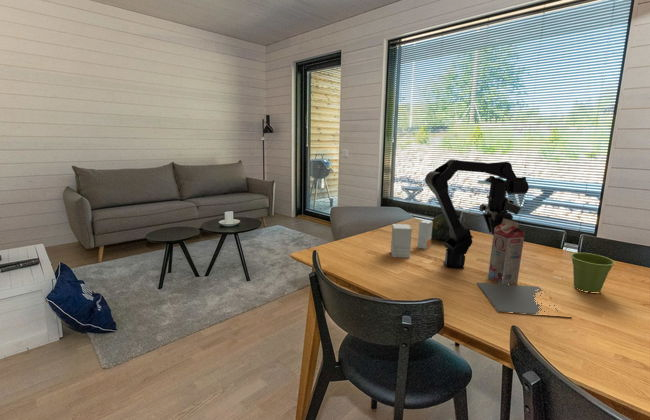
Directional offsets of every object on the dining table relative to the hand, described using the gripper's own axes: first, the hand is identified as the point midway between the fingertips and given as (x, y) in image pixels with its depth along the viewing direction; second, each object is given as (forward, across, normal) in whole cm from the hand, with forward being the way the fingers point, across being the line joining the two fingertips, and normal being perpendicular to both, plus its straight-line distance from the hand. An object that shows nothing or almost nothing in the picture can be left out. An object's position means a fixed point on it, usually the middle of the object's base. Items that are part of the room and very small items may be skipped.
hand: (492, 233), depth 135 cm
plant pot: (+13, -18, -26) cm, 34 cm away
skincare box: (+13, +19, +22) cm, 32 cm away
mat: (+13, -30, 0) cm, 32 cm away
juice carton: (+13, -15, 0) cm, 20 cm away
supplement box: (+13, +6, +34) cm, 37 cm away
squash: (+13, +34, +10) cm, 38 cm away
